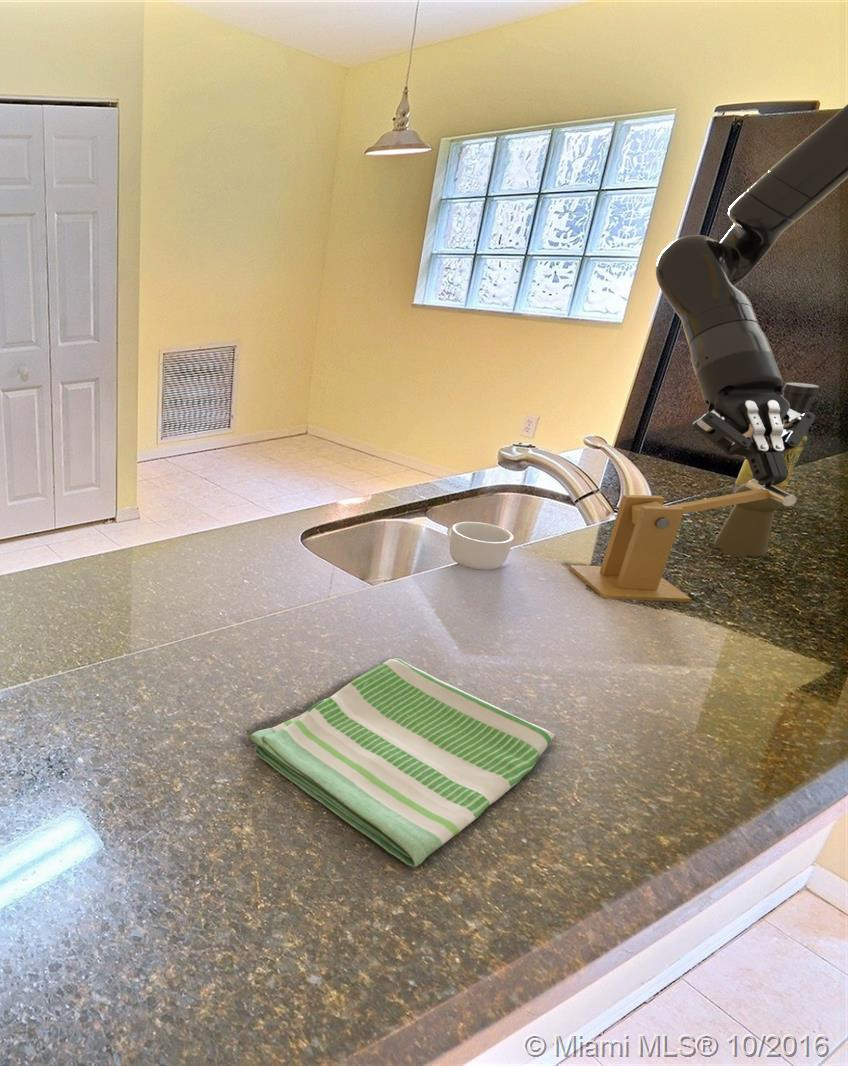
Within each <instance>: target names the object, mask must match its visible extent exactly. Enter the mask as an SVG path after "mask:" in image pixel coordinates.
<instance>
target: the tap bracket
mask: <svg viewBox="0 0 848 1066" xmlns="http://www.w3.org/2000/svg"><path fill="white" fill-rule="evenodd" d="M665 500H666V498H665V497H663V496H662V495H645V494H644V495H643V494H642V495H641V494H635V495H634V494H623V495H622V497H621V500H620V503H619V507H618V510H617V513H616V517H615V519H614V523H613V526H612V530H611V533H610V536H609V538H608V543H607V546H606V548H605V549H606V550H605V553H604V556H603V559H602V563H601V566H600V565H577V564H576V565H575V564H570V565H569V567H568V569H569V570H570V571H571V572H572V573H573V574H574V575H576V576H577V577H578V578H579V579H581V580H582V581H583V582H584V583H585V584H586V585H587V586H589V587H590V588H591V589H592V590H593V591H594V592H595V593H596V594H598V595H599V596H600V597H601V598H602V599H605V600H606V599H608V600H609V599H610V600H633V601H653V602H654V601H657V602H678V603H679V602H680V603H691V601H692V598H691V597H690V596H688V595H687V594H686V593H684V592H683V591H681V590H680V589H679V588H678V587H676V586H674V585H673V584H672V583H671V582H669V580H666V579H665V578H663V574H664V572H665V569H666V566H667V563H668V560H669V557H670V554H671V551H672V549H673V546H674V543H675V540H676V536H677V534H678V531H679V528H680V525H681V523H682V519H683V516H684V515H685V514H684V511H685V509H683V508H681V507H667V506H668V505H666V506H665V505H664V502H665ZM650 502H658V503H660V504H662V505H663V506H641V508H640V511H639V515H638V518H637V521H636V524H634V523H632V506H634V505H640V504H645V503H650Z"/></svg>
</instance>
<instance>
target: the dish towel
mask: <svg viewBox="0 0 848 1066" xmlns="http://www.w3.org/2000/svg"><path fill="white" fill-rule="evenodd" d="M554 738H555V734H554V733H553V732H551V731H549V730H547V729H546V728H543V727H541V726H539V725H538V724H537V725H536V724H535V723H532V722H530V721H527V720H525V719H524V718H520V717H519V716H516V715H514V714H512V713H510V712H508V711H506V710H504V709H502V708H500V707H497V706H496V705H493V704H491V703H489V702H487V701H485V700H483V699H481V698H479V697H476V696H475V695H472V694H470V693H469V692H466V691H464V690H462V689H461V688H458V687H456V686H454V685H452V684H450V683H447V682H446V681H443V680H441V679H439V678H437V677H436V676H433V675H431V674H429V672H426V671H424V670H421V669H419V668H417V667H415V666H413V665H411V664H410V663H408V662H405V661H404V660H402V659H400V658H398V657H394V658H388V659H386V661H384V662H382V663H380V664H379V665H376V666H375V667H373V668H371V669H369V670H368V671H366V672H364V673H363V674H361V675H360V676H358V677H357V678H355V679H353V680H352V681H350V682H349V683H347V684H346V685H345V686H343V687H341V689H339V690H338V691H336V692H334V694H332V695H331V696H330V697H327V698H324V699H321V700H319V701H318V702H316V703H315V704H313V705H311V707H309V708H308V709H307V710H306V711H304V712H303V713H301V714H300V715H298V716H296V717H293V718H290V719H289V720H286V721H284V722H282V723H280V724H277V725H275V726H273V727H268V728H264V729H260V730H256V731H254V732H253V733H251V734H249V739H250V740H251V741H252V742H253V743H255V744H257V745H258V746H255V747H254V753H255V754H256V755H257V757H258V758H259V759H261V760H262V761H263V762H265V763H267V764H268V765H269V766H270V767H272V768H273V769H274V770H275V771H276V772H278V773H279V774H280V775H282V776H283V777H284V778H286V779H288V780H289V781H290V782H292V783H293V784H294V785H296V786H297V787H298V788H300V789H301V790H302V791H304V792H305V793H306V794H307V795H309V796H310V797H312V798H313V799H315V800H316V801H318V803H320V804H322V805H323V806H324V807H326V808H327V809H328V810H330V811H331V812H332V813H333V814H335V815H336V816H338V817H339V818H340V819H341V820H343V821H345V822H346V823H347V824H348V825H350V826H351V827H353V828H354V829H355V830H357V831H359V832H360V833H361V834H363V835H365V836H366V837H367V838H369V839H370V840H372V841H373V842H375V844H377V845H378V846H380V847H381V848H382V849H383V850H385V851H386V852H387V853H388V854H390V855H393V857H395V858H397V859H398V860H400V861H401V862H402V863H404V864H405V865H407V866H409V867H412V868H417V867H418V866H419V865H421V864H422V863H423V862H424V861H425V860H426V859H427V858H428V857H429V856H430V855H431V854H433V853H434V852H435V851H437V850H438V849H440V848H441V847H442V846H443V845H445V844H446V843H448V842H449V840H451V839H452V838H454V837H455V836H456V835H458V834H460V832H462V831H463V830H464V829H465V828H467V827H468V826H469V825H470V824H472V823H473V822H474V821H475V820H476V819H478V818H479V817H480V816H481V815H482V814H483V813H484V811H486V810H487V808H488V807H489V806H491V805H492V804H494V803H496V801H498V800H500V798H501V797H503V796H504V795H505V794H506V793H507V792H508V791H509V790H511V789H513V788H514V787H515V786H516V785H517V784H518V783H519V782H520V781H521V780H522V779H523V778H524V777H525V776H526V775H527V774H529V773H530V772H531V771H532V770H533V768H534V767H535V765H536V763H537V762H538V761H539V758H540V756H542V754H543V753H544V752H545V750H546V749H547V748H548V747H549V745H550V744H551V742H552V741H553V739H554Z"/></svg>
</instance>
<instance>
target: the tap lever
mask: <svg viewBox="0 0 848 1066" xmlns="http://www.w3.org/2000/svg"><path fill="white" fill-rule="evenodd" d="M746 487H747V489H749V490H751V491H745V492H740V493H735V494H734V493H730V494H724V495H719V496H714V497H708V498H704V499H699V500H698V499H697V500H694V501H693V500H692V501H688V502H681V503H676V504H671V505H666V506H667V507H681V508H683V509H685V511H684V514H683V515H685V514H691V513H696V512H701V511H707V510H713V509H718V508H724V507H730V506H735V504H741V503H746V502H751V501H757V500H762V499H768V498H769V499H771V500H773V501H775V502H777V503H780V504H782V506H784V507H791V506H793V505H794V504H795V503H796V502H797V501H798V500H797V499H798V498H797V496H796V495H794V494H791V493H789V492H786V491H785V490H784V491H782V490H780V489H778V488H775V487H773V486H771V485H760V484H759V483H758V481H756V480H755V479H753V480H750V481H749V482H748V483H747V484H746ZM641 506H664V504H663V505H662V504H660V503H658V502H650V503H645V504H640V505H634V506H632V523H634V524H636V521H637V518H638V515H639V511H640V508H641Z"/></svg>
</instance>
